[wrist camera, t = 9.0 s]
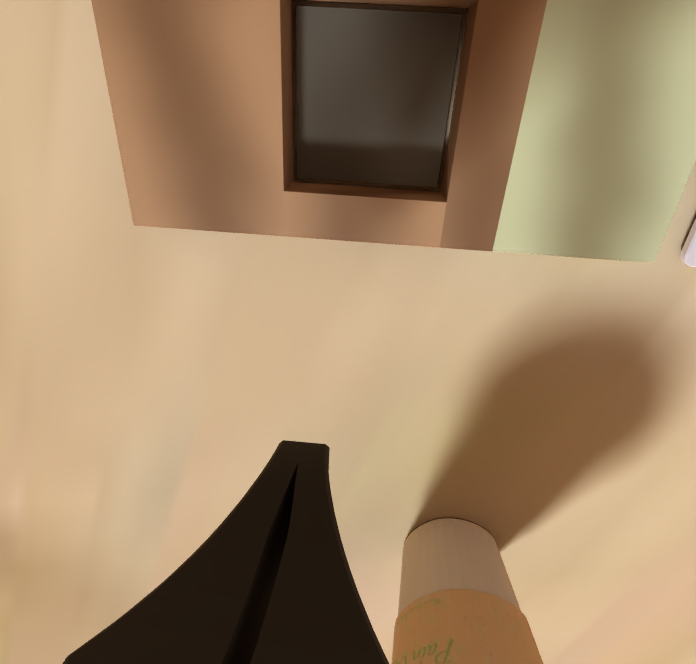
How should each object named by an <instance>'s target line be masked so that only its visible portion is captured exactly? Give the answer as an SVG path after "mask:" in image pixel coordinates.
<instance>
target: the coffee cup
mask: <svg viewBox="0 0 696 664" xmlns="http://www.w3.org/2000/svg"><path fill="white" fill-rule="evenodd" d="M392 664H543V662H542V659H541V656H540V654H539V651H538V648H537V645H536V643H535V640H534V637H533V634H532V632H531V629H530V626H529V624H528V621H527V618H526V617H525V615H524V614H523V613H522V612H521V610H520V607H519V604H518V602H517V599H516V596H515V593H514V591H513V588H512V585H511V582H510V580H509V577H508V574H507V572H506V569H505V566H504V563H503V561H502V558H501V555H500V552H499V550H498V547H497V544H496V541H495V539H494V538H493V537H492V535H491V534H490V533H489V532H488V531H486V530H485V529H484V528H482V527H480V526H479V525H477V524H474V523H472V522H469V521H466V520H462V519H455V518H441V519H436V520H432V521H429V522H427V523H424V524H423V525H421V526H419V527H418V528H416V529H415V530H414V531H413V532H412V533H411V534H410V535H409V536H408V537H407V539H406V541H405V543H404V548H403V557H402V570H401V584H400V597H399V610H398V617H397V619H396V623H395V628H394V641H393V654H392Z"/></svg>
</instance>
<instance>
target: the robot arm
mask: <svg viewBox="0 0 696 664" xmlns="http://www.w3.org/2000/svg"><path fill="white" fill-rule="evenodd" d="M680 258H681V261H682V262H683V263H685V264H686V265H688V266H691V267H696V219H695V221H694V223H693V226H692V228H691V230H690V233H689V235H688V237H687V239H686V242H685V244H684V246H683V249H682V251H681V255H680ZM328 470H329V447H328V446H327V445H326V444H317V443H306V442H295V441H284V440H283V441H282V442H281V443H279V445H278V447H277V449H276V451H275V452H274V454H273V456H272V457H271V459H270V460H269V462H268V463H267V465H266V466H265V468H264V469H263V471H262V472H261V474H260V475H259V477H258V478H257V479H256V481H255V482H254V483H253V485H252V486H251V487H250V489H249V490H248V492H247V493H246V494H245V496H244V497H243V498H242V499H241V501H240V502H239V503H238V504H237V506H236V507H235V508H234V509H233V510H232V512H231V513H230V514H229V515H228V516H227V518H226V519H225V520H224V521H223V522H222V524H221V525H220V526H219V527H218V528H217V529H216V530H215V531H214V532H213V534H212V535H211V536H210V537H209V538H208V539H207V540H206V541H205V542H204V543H203V544H202V545H201V546H200V547H199V548H198V549H197V550H196V551H195V552H194V553H193V554H192V555H191V556H190V557H189V558H188V559H187V560H186V561H185V562H184V563H183V564H182V565H181V566H180V567H179V568H178V569H177V570H176V571H175V572H174V573H172V574H171V575H170V576H169V577H168V578H167V579H166V580H165V581H164V582H163V583H161V584H160V585H159V586H158V587H157V588H156V589H154V590H153V591H152V592H151V593H150V594H148V595H147V596H146V597H145V598H144V599H142V600H141V601H140V602H139V603H137V604H136V605H135V606H134V607H133V608H131V609H130V610H129V611H128V612H127V613H125V614H124V615H123V616H122V617H120V618H119V619H118V620H116V621H115V622H114V623H112V624H111V625H110V626H108V627H107V628H106V629H104V630H103V631H102V632H100V633H99V634H97V635H96V636H95V637H93V638H92V639H91V640H89V641H88V642H86V643H85V644H84V645H82V646H81V647H80V648H78V649H77V650H75V651H74V652H73V653H71V654H70V655H69V656H68V657H67V658H66V659H65V661H64V662H63V664H389V662H388V660H387V658H386V656H385V654H384V652H383V650H382V648H381V645H380V643H379V641H378V639H377V637H376V634H375V632H374V630H373V628H372V625H371V623H370V620H369V618H368V615H367V613H366V611H365V608H364V606H363V603H362V601H361V598H360V596H359V593H358V591H357V588H356V585H355V582H354V579H353V576H352V574H351V571H350V568H349V565H348V561H347V558H346V555H345V552H344V548H343V545H342V541H341V538H340V534H339V530H338V526H337V522H336V517H335V513H334V507H333V502H332V496H331V490H330V483H329V473H328Z"/></svg>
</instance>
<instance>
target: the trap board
mask: <svg viewBox="0 0 696 664" xmlns="http://www.w3.org/2000/svg"><path fill="white" fill-rule="evenodd" d="M309 1H329V2H349V3H369V4H389V5H409V6H429V7H449V8H468V12H467V19H466V25H465V32H464V39H463V45H462V52H461V59H460V66H459V72H458V79H457V86H456V92H455V99H454V106H453V113H452V119H451V126H450V133H449V139H448V146H447V153H446V160H445V166H444V173H443V180H442V186H441V191H430V190H415V189H400V188H385V187H370V186H355V185H340V184H326V183H311V182H296V181H294V175H293V67H292V0H92V5H93V11H94V16H95V21H96V27H97V32H98V37H99V43H100V48H101V53H102V59H103V64H104V69H105V75H106V80H107V85H108V91H109V96H110V101H111V106H112V112H113V117H114V122H115V128H116V133H117V138H118V144H119V149H120V154H121V160H122V165H123V170H124V176H125V181H126V186H127V192H128V197H129V202H130V208H131V213H132V218H133V224H134V225H136V226H150V227H164V228H178V229H192V230H205V231H219V232H233V233H247V234H261V235H274V236H288V237H302V238H316V239H330V240H343V241H357V242H371V243H385V244H399V245H412V246H426V247H440V248H454V249H468V250H481V251H495V252H509V253H523V254H537V255H550V256H564V257H578V258H592V259H606V260H619V261H633V262H647V263H654V261H655V259H656V256H657V254H658V251H659V249H660V246H661V244H662V242H663V239H664V237H665V234H666V232H667V229H668V227H669V224H670V222H671V220H672V217H673V215H674V212H675V210H676V207H677V205H678V203H679V200H680V198H681V195H682V193H683V190H684V188H685V185H686V183H687V181H688V178H689V176H690V173H691V171H692V168H693V166H694V163H695V161H696V0H309ZM461 20H462V14H451V13H431V12H411V11H391V10H372V9H352V8H332V7H312V6H296V72H297V178H307V179H321V180H336V181H351V182H366V183H381V184H396V185H411V186H426V187H437V186H438V179H439V172H440V165H441V158H442V151H443V144H444V137H445V131H446V124H447V117H448V110H449V103H450V96H451V89H452V82H453V75H454V68H455V61H456V55H457V48H458V41H459V34H460V27H461Z"/></svg>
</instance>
